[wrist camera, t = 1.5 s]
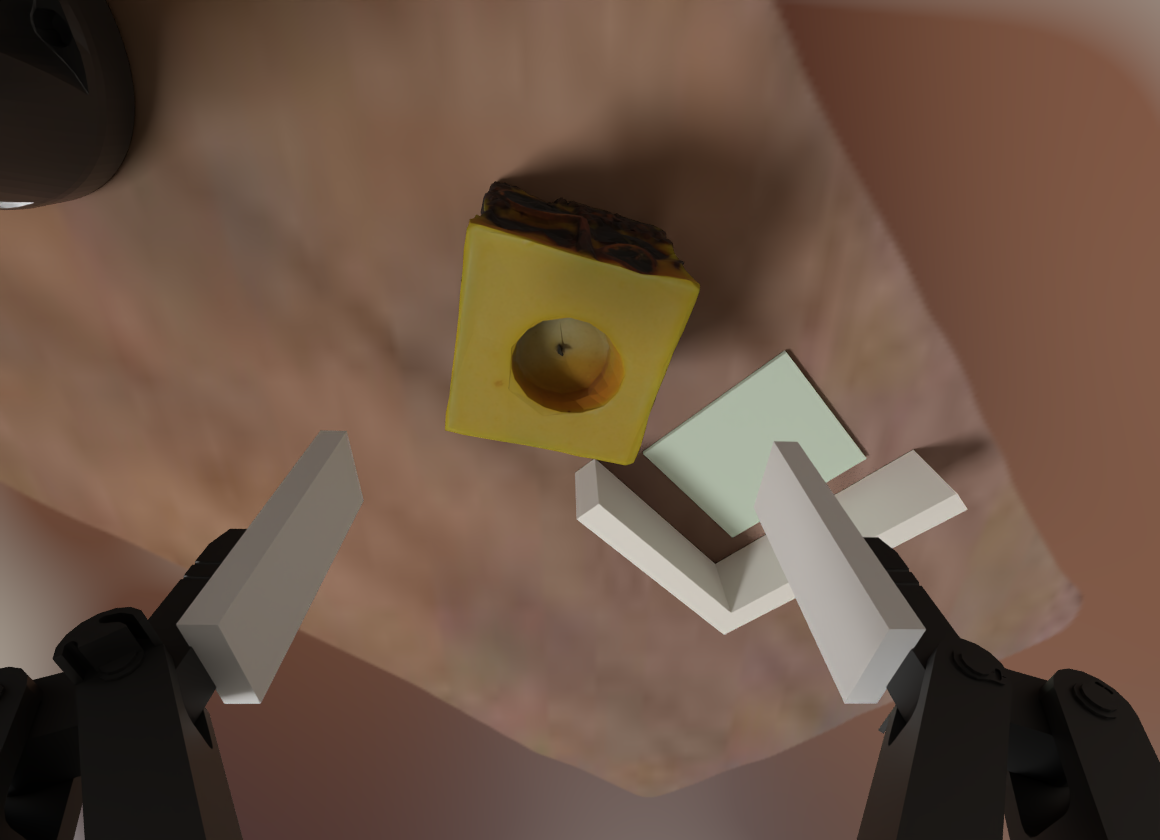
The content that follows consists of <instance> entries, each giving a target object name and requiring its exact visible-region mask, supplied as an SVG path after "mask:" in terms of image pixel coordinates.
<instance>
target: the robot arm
mask: <svg viewBox="0 0 1160 840" xmlns="http://www.w3.org/2000/svg"><path fill="white" fill-rule="evenodd" d="M134 113H135V107H134V90H133V82H132V76H131V71H130V67H129V62H128V58H127V55H126V51H125V48H124V44H123V41H122V39H121V36H120V33H119V30H118V28H117V25H116V23H115V20H114V18H113V16H112V13H111V11H110V9H109V7H108V5H107V3H106V1H105V0H0V210H17V209H29V208H36V207H41V206H46V205H51V204H56V203H61V202H66V201H70V200H74V199H77V198H80V197H83V196H85V195H87V194H90V193H91V192H93V191H95V190H97V189H98V188H100V187H101V186H102V185H104V184H105V183H106V182H107V181H108V180H109V179H110V178H111V177H112V176H113V175H114V173H115V172H116V171H117V170H118V168H119V166H120V165H121V163H122V162H123V160H124V157H125V155H126V153H127V150H128V148H129V145H130V141H131V137H132V132H133V126H134ZM363 501H364V500H363V496H362V492H361V488H360V484H359V480H358V476H357V471H356V467H355V463H354V459H353V455H352V451H351V447H350V443H349V439H348V435H347V431H320V432H319V433H318V435H317V436H316V437H315V439H314V440H313V441H312V443H311V444H310V445H309V447H308V448H307V450H306V451H305V452H304V454H303V455H302V456H301V458H300V459H299V460H298V462H297V463H296V464H295V466H294V467H293V468H292V470H291V471H290V472H289V474H288V475H287V476H286V478H285V479H284V480H283V482H282V483H281V484H280V486H279V487H278V488H277V490H276V491H275V492H274V494H273V495H272V496H271V498H270V499H269V500H268V502H267V503H266V504H265V506H264V507H263V509H262V510H261V511H260V513H259V514H258V515H257V517H256V518H255V519H254V521H253V522H252V523H251V525H250V526H249V527H248V529H229V530H228V531H226V532H225V533H224V534H222V535H221V536H219V537H218V538H217V539H215V540H214V541H213V542H211V543H210V544H209V545H208V546H207V547H206V549H205V550H204V551H203V552H202V554H201V555H200V556H199V557H198V558H197V560H196V561H195V565H192V566H191V567H190V568H189V570H188V571H187V572H186V573H185V575H184V578H183V579H181V580H180V581H179V582H178V583H177V585H176V586H175V587H174V588H173V590H172V591H171V592H170V593H169V594H168V596H167V597H166V598H165V600H164V601H163V602H162V603H161V604H160V606H159V607H158V608H157V609H156V611H155V612H154V613H153V614H152V616H151V617H150V618H149V619H148V620H147V618H146V617H145V615H144V614H143V612H142V611H141V610H138V609H135V608H132V607H125V608H115V609H112V610H109V611H106V612H102V613H100V614H97V615H95V616H93V617H91V618H90V619H88V620H86V621H84V622H82V623H80V624H79V625H78V626H77V627H75V628H74V629H73V630H72V631H70V632H69V633H68V634H67V635H66V636H65V637H64V638H63V639H62V641H61V642H60V643H59V644H58V646H57V647H56V649H55V653H54V656H53V660H54V661H55V663H56V664H57V665H58V666H59V667H60V668H61V669H62V671H63V672H62V673H58V674H55V675H51V676H47V677H43V678H39V679H35V680H32V679H31V678H30V677H29V676H28V675H27V674H26V673H25V672H24V671H23V670H22V669H21V668H14V667H5V668H0V840H73V839H74V835H75V831H76V827H77V822H78V818H79V814H80V810H81V807H82V803H83V817H84V833H85V840H243V838H242V835H241V830H240V827H239V823H238V819H237V815H236V812H235V808H234V804H233V801H232V797H231V793H230V789H229V785H228V782H227V778H226V774H225V771H224V767H223V763H222V759H221V756H220V752H219V748H218V744H217V741H216V737H215V733H214V729H213V726H212V722H211V718H210V714H209V712H208V711H207V709H206V708H205V706H206V704H207V702H208V701H209V699H210V697H211V696H212V694H213V692H214V690H215V689H216V691H217V692H218V694H219V695H220V697H221V698H222V700H223V702H224V703H225V704H260V703H261V702H262V700H263V698H264V696H265V694H266V692H267V690H268V688H269V686H270V684H271V682H272V680H273V678H274V676H275V674H276V672H277V670H278V668H279V666H280V664H281V662H282V660H283V658H284V656H285V654H286V652H287V651H288V648H289V646H290V645H291V643H292V641H293V639H294V637H295V635H296V633H297V631H298V629H299V627H300V625H301V623H302V621H303V619H304V617H305V615H306V613H307V611H308V609H309V607H310V605H311V603H312V601H313V599H314V597H315V595H316V593H317V591H318V589H319V587H320V585H321V583H322V582H323V580H324V578H325V576H326V574H327V572H328V570H329V568H330V566H331V564H332V562H333V560H334V558H335V556H336V554H337V552H338V550H339V548H340V546H341V544H342V542H343V540H344V538H345V536H346V534H347V532H348V530H349V528H350V526H351V524H352V522H353V520H354V518H355V516H356V514H357V512H358V510H359V509H360V507H361V505H362V503H363ZM754 509H755V512H756V514H757V516H758V518H759V520H760V522H761V524H762V527H763V529H764V531H765V533H766V535H767V537H768V540H769V542H770V544H771V546H772V548H773V550H774V552H775V555H776V557H777V559H778V561H779V563H780V565H781V568H782V570H783V572H784V574H785V576H786V578H787V580H788V583H789V585H790V587H791V589H792V591H793V593H794V595H795V598H796V600H797V602H798V604H799V606H800V608H801V611H802V613H803V615H804V617H805V619H806V621H807V623H808V626H809V628H810V630H811V632H812V634H813V636H814V639H815V641H816V643H817V645H818V647H819V649H820V651H821V654H822V656H823V658H824V660H825V662H826V664H827V667H828V669H829V671H830V673H831V675H832V677H833V679H834V682H835V684H836V686H837V688H838V690H839V692H840V694H841V697H842V699H843V701H844V703H878V701H879V700H880V698H881V697H882V695H883V694H884V692H885V691H886V689H887V690H888V691H889V693H890V695H891V697H892V699H893V701H894V702H895V704H896V705H895V707H894V708H893V710H892V711H891V713H890V714H889V715H888V717H887V718H886V720H885V721H884V722H883V724H882V725H881V727H880V729H879V731H880V732H882V733H884V732H885V731H886V732H885V736H884V740H883V743H882V747H881V751H880V754H879V758H878V762H877V766H876V770H875V773H874V777H873V781H872V785H871V789H870V792H869V796H868V799H867V804H866V807H865V811H864V814H863V818H862V822H861V826H860V829H859V834H858V837H857V840H1002V839H1003V823H1004V814H1005V819H1006V823H1007V828H1008V832H1009V837H1010V840H1160V762H1159V760H1158V758H1157V755H1156V754H1155V751H1154V749H1153V747H1152V745H1151V743H1150V741H1149V739H1148V737H1147V734H1146V732H1145V731H1144V728H1143V726H1142V724H1141V722H1140V720H1139V718H1138V716H1137V714H1136V713H1135V711H1134V710H1133V708H1132V707H1131V705H1130V704H1129V703H1128V702H1127V701H1126V700H1125V699H1124V698H1123V697H1122V696H1121V695H1120V694H1119V693H1118V692H1117V691H1116V690H1115V689H1113V688H1112V687H1110V686H1109V685H1107V684H1106V683H1104V682H1103V681H1101V680H1099V679H1098V678H1096V677H1093V676H1091V675H1089V674H1087V673H1085V672H1082V671H1077V670H1073V669H1062V670H1058V671H1057V672H1056V673H1055V674H1054V675H1053V676H1052V677H1051V678H1050V679H1049V680H1048V681H1047V680H1044V679H1040V678H1036V677H1033V676H1029V675H1026V674H1022V673H1019V672H1015V671H1012V670H1008V669H1006V668H1004V667H1003V665H1002V664H1001V663H1000V662H999V661H998V660H997V659H996V658H995V657H994V656H993V655H992V654H991V653H990V652H988V651H986V650H985V649H983V648H982V647H980V646H979V645H977V644H975V643H972V642H969V641H967V640H964V639H961V638H960V637H959V636H958V635H957V633H956V632H955V631H954V629H953V628H952V627H951V625H950V624H949V622H948V621H947V620H946V618H945V617H944V616H943V614H942V613H941V612H940V610H939V609H938V608H937V606H936V605H935V603H934V602H933V601H932V599H931V598H930V597H929V595H928V594H927V593H926V591H925V590H924V589H923V587H922V586H919V582H918V580H917V579H916V578H915V576H914V575H913V574H912V572H909V568H908V567H907V565H906V564H905V563H904V561H903V560H902V559H901V557H900V556H899V555H898V553H897V552H896V551H895V550H893V549H892V548H891V547H890V546H888V545H887V544H886V543H885V542H884V541H882V540H881V539H880V538H879V537H863V536H862V535H861V533H860V532H859V531H858V529H857V528H856V526H855V525H854V523H853V522H852V520H851V519H850V517H849V516H848V514H847V513H846V512H845V510H844V509H843V507H842V506H841V504H840V503H839V501H838V500H837V498H836V497H835V496H834V494H833V493H832V491H831V490H830V488H829V487H828V485H827V484H826V482H825V481H824V479H823V478H822V477H821V475H820V474H819V472H818V471H817V469H816V468H815V466H814V465H813V463H812V462H811V460H810V459H809V458H808V456H807V455H806V453H805V452H804V450H803V449H802V447H801V446H800V444H799V443H798V442H786V441H774V442H773V445H772V449H771V452H770V455H769V458H768V462H767V465H766V468H765V472H764V475H763V478H762V481H761V485H760V488H759V491H758V494H757V498H756V501H755V504H754Z"/></svg>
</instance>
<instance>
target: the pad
mask: <svg viewBox="0 0 1160 840" xmlns="http://www.w3.org/2000/svg"><path fill="white" fill-rule="evenodd" d="M774 441H786V442H798V443H799V444H800V446H801V447H802V449H803V450H804V452H805V453H806V455H807V456H808V458H809V459H810V460H811V462H812V463H813V465H814V466H815V468H816V469H817V471H818V472H819V474H820V475H821V477H822V478H823V479H824V481H825V482H828V481H829V480H831V479H833V478H835V477H836V476H838V475H840V474H841V473H843V472H845V471H846V470H848V469H850V468H851V467H853V466H855V465H857V464H858V463H860V462H862V461H863V460H865V459H866V457H865V456H864V455H863V453H862V452H861V451H860V449H859V448H858V447H857V445H856V444H855V443H854V441H853V440H852V439H851V437H850V436H849V435H848V433H847V432H846V431H845V429H844V428H843V427H842V425H841V424H840V423H839V421H838V420H837V419H836V417H835V416H834V415H833V413H832V412H831V411H830V409H829V408H828V407H827V405H826V404H825V403H824V402H823V400H822V399H821V398H820V396H819V395H818V394H817V392H816V391H815V390H814V388H813V387H812V386H811V384H810V383H809V382H808V380H807V379H806V378H805V376H804V375H803V374H802V372H801V371H800V370H799V368H798V367H797V366H796V364H795V363H794V362H793V360H792V359H791V358H790V356H789V355H788V354H787V352H786V351H783V352H782V353H781V354H779V355H778V356H776V357H775V358H774V359H772V360H771V361H769V362H768V363H767V364H765V365H764V366H762V367H761V368H760V369H758V370H757V371H755V372H754V373H752V374H751V375H750V376H748V377H747V378H745V379H744V380H743V381H741V382H740V383H738V384H737V385H736V386H734V387H733V388H731V389H730V390H729V391H727V392H726V393H724V394H723V395H722V396H720V397H719V398H717V399H716V400H715V401H713V402H712V403H710V404H709V405H708V406H706V407H705V408H703V409H702V410H701V411H699V412H698V413H696V414H695V415H694V416H692V417H691V418H689V419H688V420H687V421H685V422H684V423H682V424H681V425H680V426H678V427H677V428H675V429H674V430H673V431H671V432H670V433H668V434H667V435H666V436H664V437H663V438H661V439H660V440H659V441H657V442H656V443H654V444H653V445H652V446H650V447H649V448H647V449H646V450H644V451H643V454H644V455H645V456H646V457H647V458H648V459H649V460H650V461H651V462H652V463H653V464H654V465H656V466H657V467H658V468H659V469H660V470H661V471H662V472H663V473H664V474H665V475H666V476H667V477H668V478H669V479H670V480H671V481H673V482H674V483H675V484H676V485H677V486H678V487H679V488H680V489H681V490H682V491H683V492H684V493H685V494H686V495H687V496H689V497H690V498H691V499H692V500H693V501H694V502H695V503H696V504H697V505H698V506H699V507H700V508H701V509H702V510H703V511H704V512H706V513H707V514H708V515H709V516H710V517H711V518H712V519H713V520H714V521H715V522H716V523H717V524H718V525H719V526H720V527H722V528H723V529H724V530H725V531H726V532H727V533H728V534H729V535H730V536H731V537H732V538H733V537H735V536H736V535H738V534H740V533H741V532H743V531H745V530H746V529H748V528H750V527H752V526H753V525H755V524H757V523H758V522H760V520H759V518H758V516H757V514H756V512H755V509H754V504H755V501H756V498H757V494H758V491H759V488H760V485H761V481H762V478H763V475H764V472H765V468H766V465H767V462H768V458H769V455H770V452H771V449H772V445H773V442H774Z"/></svg>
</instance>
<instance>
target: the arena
mask: <svg viewBox="0 0 1160 840" xmlns="http://www.w3.org/2000/svg"><path fill="white" fill-rule="evenodd" d="M575 483H576V515H577V520H578V521H580V522H581V523H582V524H583V525H585V526H586V527H587V528H589V529H590V530H591V531H592V532H594V533H595V534H596V535H597V536H599V537H600V538H601V539H603V540H604V541H605V542H606V543H608V544H609V545H610V546H611V547H613V548H614V549H615V550H617V551H618V552H619V553H620V554H622V555H623V556H624V557H626V558H627V559H628V560H629V561H631V562H632V563H633V564H634V565H636V566H637V567H638V568H640V569H641V570H642V571H643V572H645V573H646V574H647V575H648V576H650V577H651V578H652V579H654V580H655V581H656V582H657V583H659V584H660V585H661V586H663V587H664V588H665V589H666V590H668V591H669V592H670V593H671V594H673V595H674V596H675V597H677V598H678V599H679V600H680V601H682V602H683V603H684V604H686V605H687V606H688V607H689V608H691V609H692V610H693V611H694V612H696V613H697V614H698V615H700V616H701V617H702V618H703V619H705V620H706V621H707V622H708V623H710V624H711V625H712V626H714V627H715V628H716V629H717V630H719V631H720V632H721V633H723V634H724V635H725V634H726V633H728V632H730V631H732V630H734V629H736V628H738V627H740V626H742V625H744V624H746V623H748V622H750V621H752V620H754V619H756V618H758V617H759V616H761V615H763V614H765V613H767V612H769V611H771V610H773V609H775V608H777V607H779V606H781V605H783V604H785V603H787V602H789V601H791V600H793V599H794V598H795V595H794V593H793V591H792V589H791V587H790V585H789V583H788V580H787V578H786V576H785V574H784V572H783V570H782V568H781V565H780V563H779V561H778V559H777V557H776V555H775V552H774V550H773V548H772V546H771V544H770V542H769V540H768V537H767V535H764V536H763V537H761V538H759V539H757V540H756V541H754V542H752V543H751V544H749V545H747V546H745V547H744V548H742V549H740V550H738V551H737V552H735V553H733V554H732V555H730V556H728V557H726V558H725V559H723V560H721V561H719V562H718V563H716V564H715V563H714V562H712V561H711V560H710V559H709V558H708V557H707V556H706V555H704V554H703V553H702V552H701V551H700V550H699V549H698V548H696V547H695V546H694V545H693V544H692V543H691V542H690V541H688V540H687V539H686V538H685V537H684V536H683V535H682V534H680V533H679V532H678V531H677V530H676V529H675V528H674V527H672V526H671V525H670V524H669V523H668V522H667V521H666V520H665V519H663V518H662V517H661V516H660V515H659V514H658V513H657V512H655V511H654V510H653V509H652V508H651V507H650V506H649V505H647V504H646V503H645V502H644V501H643V500H642V499H641V498H639V497H638V496H637V495H636V494H635V493H634V492H633V491H631V490H630V489H629V488H628V487H627V486H626V485H625V484H623V483H622V482H621V481H620V480H619V479H618V478H617V477H615V476H614V475H613V474H612V473H611V472H610V471H609V470H608V469H606V468H605V467H604V466H603V465H602V464H601V463H600V462H598V461H597V460H596V459H593V460H592V461H591V462H589V463H588V464H587V465H585V466H584V467H582V468H581V469H580V470H578V471H577V472H576V473H575ZM834 496H835V497H836V498H837V500H838V501H839V503H840V504H841V506H842V507H843V509H844V510H845V512H846V513H847V514H848V516H849V517H850V519H851V520H852V522H853V523H854V525H855V526H856V528H857V529H858V531H859V532H860V533H861V535H862V536H863V537H879V538H880V539H881V540H882V541H884V542H885V543H886V544H887V545H888V546H890V547H891V548H894V547H896V546H897V545H899V544H901V543H903V542H905V541H907V540H909V539H911V538H913V537H915V536H917V535H919V534H921V533H923V532H925V531H927V530H929V529H931V528H932V527H934V526H936V525H938V524H940V523H942V522H944V521H946V520H948V519H950V518H952V517H954V516H956V515H958V514H960V513H962V512H964V511H965V510H967V508H966V506H965V505H964V503H963V502H962V500H961V499H960V497H959V496H958V494H957V493H956V492H955V491H954V490H953V489H952V488H951V487H950V486H949V485H948V484H947V483H946V482H945V481H944V480H943V479H942V478H941V477H940V476H939V475H938V474H937V473H936V472H935V471H934V470H933V469H932V468H931V467H930V466H929V465H928V464H927V463H926V462H925V461H924V460H923V459H922V458H921V457H920V456H919V455H918V454H917V453H916V452H915V451H914V450H912V451H910V452H908V453H907V454H905V455H903V456H901V457H900V458H898V459H896V460H894V461H893V462H891V463H889V464H887V465H886V466H884V467H882V468H881V469H879V470H877V471H875V472H874V473H872V474H870V475H868V476H867V477H865V478H863V479H861V480H860V481H858V482H856V483H855V484H853V485H851V486H849V487H848V488H846V489H844V490H842V491H841V492H839V493H837V494H835V495H834Z"/></svg>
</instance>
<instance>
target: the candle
mask: <svg viewBox="0 0 1160 840" xmlns="http://www.w3.org/2000/svg"><path fill="white" fill-rule="evenodd" d="M683 264H684V262H683V261H681V260H679V259H678V258H677V256H676V255H675V253H674V250H673V243H672V242H671V241H670V240H669V239H666V233H665V232H664V231H663V230H661V229H659V228H657V227H655V226H653V225H649V224H644V223H640V222H637V221H634V220H631V219H627V218H623V217H622V216H620V215H618V214H612V213H610V212H608V211H605V210H600V209H595V208H590V207H588V206H586V205H584V204H580V203H576V202H573V201H572V202H569V203H567V202H566V200H565V199H563V198H560V199H557V200H556V201H555V202H554V203H546V202H544V201H542V200H540V199H538V198H536V197H534V196H531V195H528V194H527V193H526V192H524V191H523V190H521V189H520V188H518V187H517V186H510V185H508V184H507V183H499V182H496V181H495V182H494V183H493V184H492V185H491V186H490V189H489V191H488V193H486V194H485V196H484V198H483V204H482V209H481V216H478V215H476V216H475V218H473V219H470V221H469V225H468V227H467V232H466V238H465V245H464V255H463V272H462V279H461V291H460V302H459V318H458V327H457V335H456V344H455V353H454V361H453V369H452V377H451V386H450V396H449V401H448V406H447V410H446V422H445V430H446V431H450V432H454V433H459V434H463V435H468V436H474V437H480V438H486V439H491V440H497V441H503V442H510V443H516V444H522V445H527V446H533V447H538V448H543V449H548V450H553V451H558V452H563V453H567V454H571V455H575V456H579V457H586V458H592V459H596V460H601V461H606V462H611V463H616V464H621V465H628V464H631V463H634V461H635V458H636V456H637V454H638V452H639V449H640V446H641V443H642V440H643V436H644V433H645V430H646V425H647V421H648V417H649V414H650V412H651V409H652V407H653V404H654V402H655V399H656V395H657V393H658V390H659V388H660V386H661V383H662V381H663V378H664V376H665V374H666V371H667V368H668V366H669V363H670V360H671V358H672V355H673V352H674V350H675V348H676V346H677V344H678V341H679V339H680V337H681V335H682V333H683V331H684V328H685V326H686V324H687V321H688V319H689V317H690V314H691V312H692V310H693V307H694V305H695V302H696V299H697V297H698V294H699V291H700V284H699V283H698V282H696V281H695V280H694V279H693V278H692V277H691V276H690V275H689V274H688V273H687V272H686V270H685V269H684V267H683Z"/></svg>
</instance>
